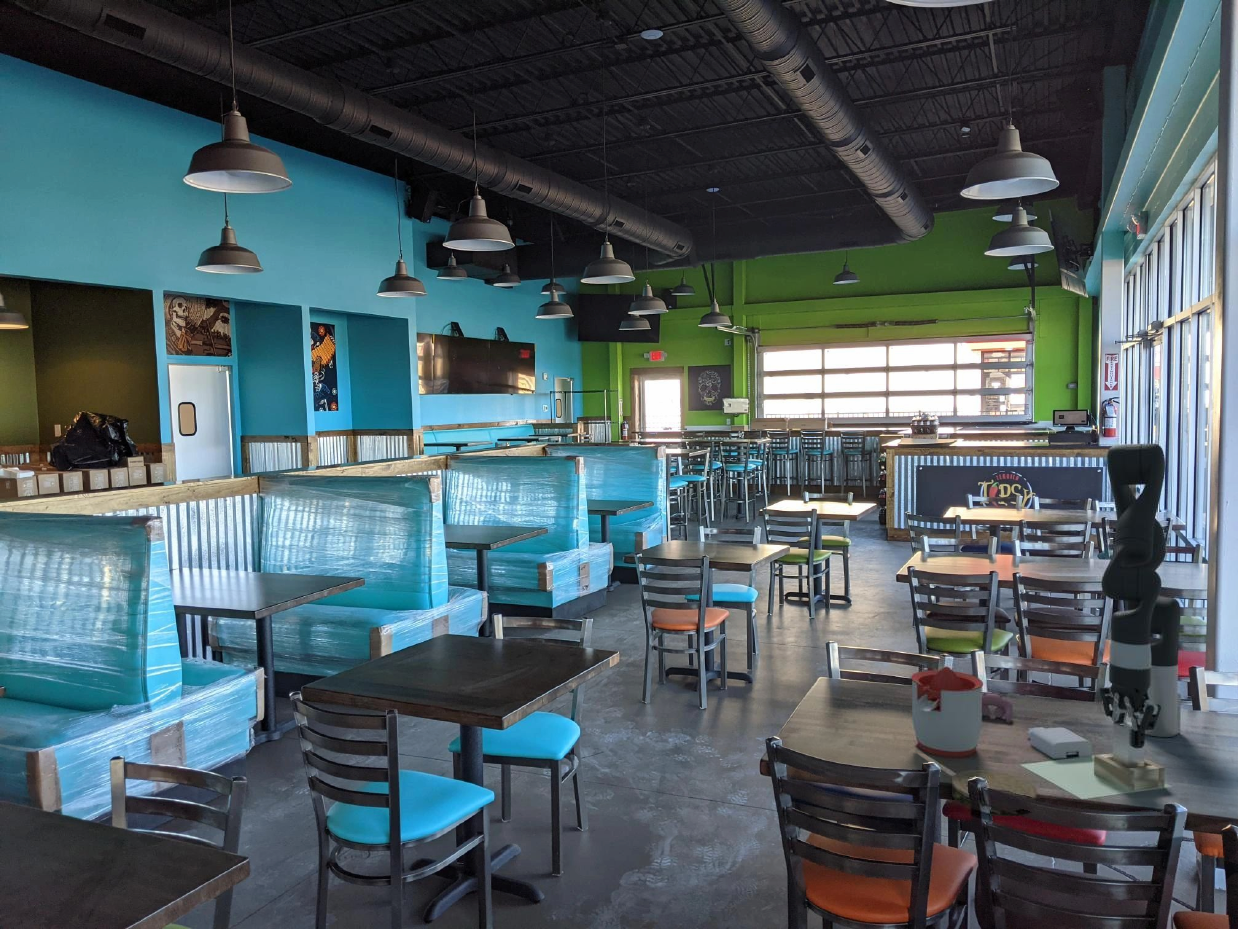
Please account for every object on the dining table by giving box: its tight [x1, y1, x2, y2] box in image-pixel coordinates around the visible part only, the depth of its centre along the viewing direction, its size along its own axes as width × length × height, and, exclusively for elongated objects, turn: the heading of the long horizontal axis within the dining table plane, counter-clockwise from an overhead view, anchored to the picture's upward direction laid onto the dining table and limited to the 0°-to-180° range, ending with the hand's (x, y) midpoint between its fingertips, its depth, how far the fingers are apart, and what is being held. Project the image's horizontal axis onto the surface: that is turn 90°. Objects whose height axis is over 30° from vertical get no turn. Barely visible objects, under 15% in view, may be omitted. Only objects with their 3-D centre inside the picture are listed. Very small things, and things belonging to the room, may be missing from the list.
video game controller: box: [982, 693, 1014, 724], centre depth 223 cm, size 10×5×7 cm, turn 59°
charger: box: [1026, 726, 1093, 759], centre depth 201 cm, size 5×9×15 cm
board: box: [1020, 753, 1173, 800], centre depth 183 cm, size 22×18×1 cm
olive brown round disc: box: [951, 769, 1038, 817], centre depth 175 cm, size 16×16×3 cm
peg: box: [1112, 721, 1145, 768], centre depth 180 cm, size 4×4×8 cm
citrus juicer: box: [910, 666, 984, 758], centre depth 199 cm, size 16×17×20 cm
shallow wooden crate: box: [1093, 752, 1166, 791], centre depth 180 cm, size 9×9×4 cm
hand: (1128, 743), depth 180 cm, fingers closed on peg, 4 cm apart
